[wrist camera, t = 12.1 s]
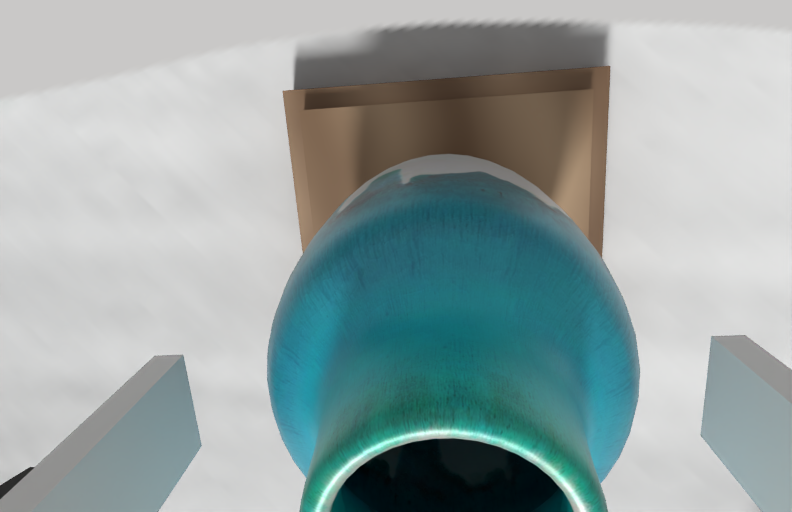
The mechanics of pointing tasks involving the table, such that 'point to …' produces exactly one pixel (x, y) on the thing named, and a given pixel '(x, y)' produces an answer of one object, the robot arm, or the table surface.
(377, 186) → the vase
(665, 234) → the table surface
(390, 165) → the pedestal
